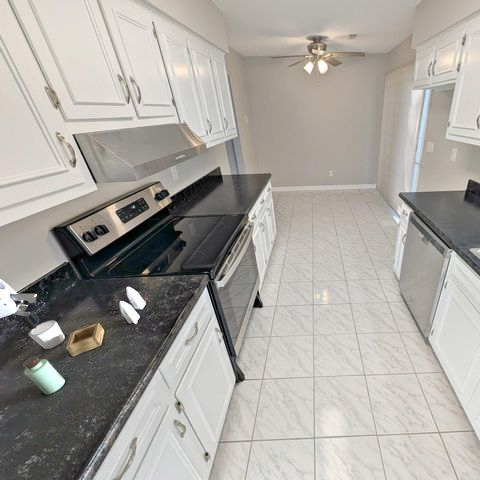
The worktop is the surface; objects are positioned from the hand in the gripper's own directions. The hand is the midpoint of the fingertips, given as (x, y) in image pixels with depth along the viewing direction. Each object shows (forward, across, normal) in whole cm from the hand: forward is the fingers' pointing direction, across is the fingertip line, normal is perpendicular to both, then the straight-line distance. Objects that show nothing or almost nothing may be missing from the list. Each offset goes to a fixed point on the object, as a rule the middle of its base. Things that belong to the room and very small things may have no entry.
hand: (10, 334), depth 64 cm
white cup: (+21, +5, -21) cm, 30 cm away
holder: (+21, -6, -13) cm, 25 cm away
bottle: (+21, +1, +1) cm, 21 cm away
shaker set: (+21, -20, -20) cm, 35 cm away
